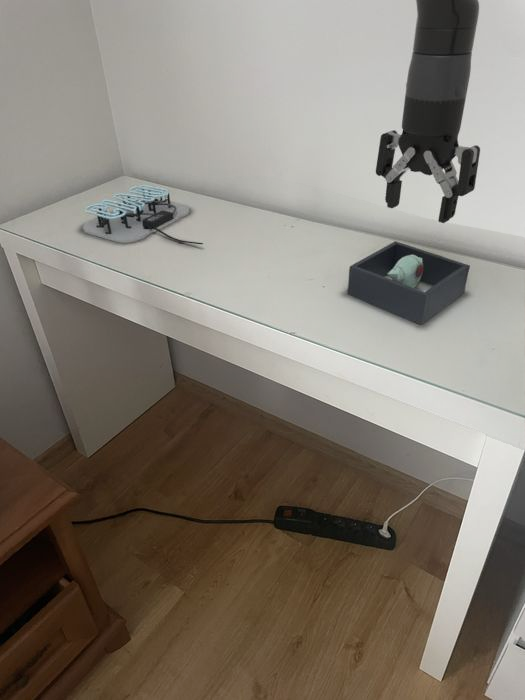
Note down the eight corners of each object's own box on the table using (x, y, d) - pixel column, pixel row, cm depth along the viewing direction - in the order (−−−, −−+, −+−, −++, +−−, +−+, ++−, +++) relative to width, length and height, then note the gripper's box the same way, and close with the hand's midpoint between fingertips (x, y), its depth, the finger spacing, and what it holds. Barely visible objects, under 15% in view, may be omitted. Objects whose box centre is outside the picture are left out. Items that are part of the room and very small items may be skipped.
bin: (463, 293, 84) (470, 265, 81) (421, 325, 77) (426, 295, 74) (391, 267, 92) (395, 240, 89) (347, 294, 85) (349, 266, 82)
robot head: (407, 280, 88) (413, 243, 84) (429, 289, 86) (436, 250, 82) (380, 299, 84) (384, 260, 80) (402, 307, 81) (408, 268, 77)
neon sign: (181, 239, 94) (70, 210, 107) (184, 261, 97) (75, 230, 110) (247, 202, 108) (142, 180, 122) (248, 221, 111) (145, 198, 124)
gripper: (503, 93, 65) (475, 218, 75) (404, 81, 74) (391, 195, 83) (473, 104, 61) (448, 235, 71) (372, 90, 70) (362, 208, 79)
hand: (417, 213), depth 77 cm, fingers open, 8 cm apart
